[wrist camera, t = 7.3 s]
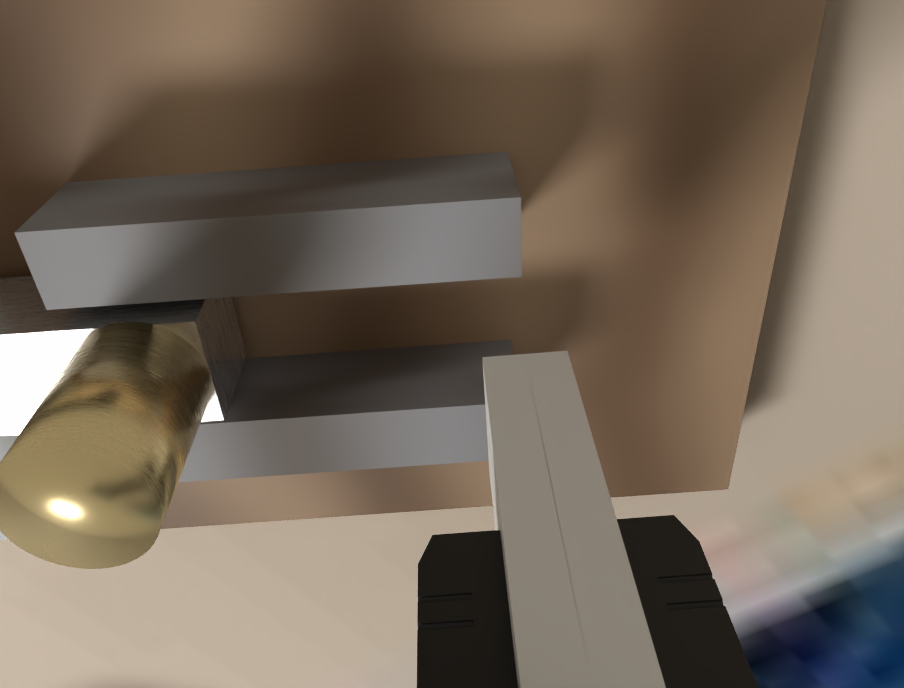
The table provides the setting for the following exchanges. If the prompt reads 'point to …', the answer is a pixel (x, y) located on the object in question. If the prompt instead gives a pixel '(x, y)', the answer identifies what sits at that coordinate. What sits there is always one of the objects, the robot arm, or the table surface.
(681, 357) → the lock board
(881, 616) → the table surface
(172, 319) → the bolt
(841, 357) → the table surface
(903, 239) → the table surface
